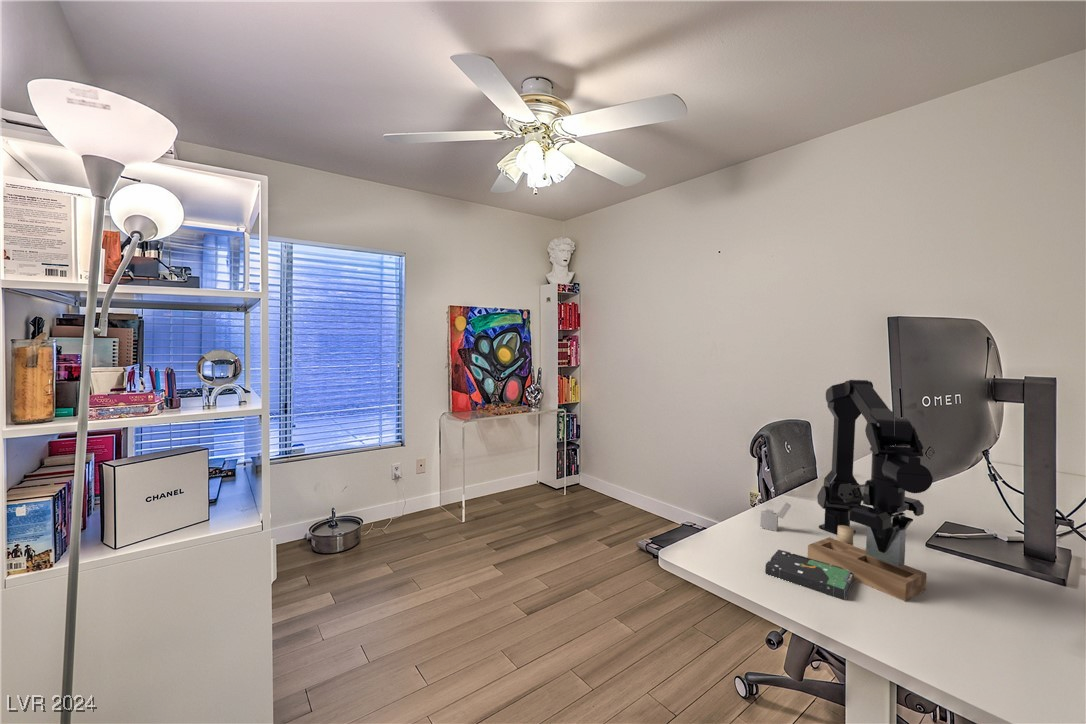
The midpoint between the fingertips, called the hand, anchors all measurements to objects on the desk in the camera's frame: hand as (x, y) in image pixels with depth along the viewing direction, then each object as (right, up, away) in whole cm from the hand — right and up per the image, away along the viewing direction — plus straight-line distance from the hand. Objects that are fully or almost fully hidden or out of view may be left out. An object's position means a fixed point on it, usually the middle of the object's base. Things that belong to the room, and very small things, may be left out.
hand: (885, 550), depth 93 cm
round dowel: (+1, -6, +14) cm, 15 cm away
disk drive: (-15, -7, +2) cm, 17 cm away
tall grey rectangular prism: (0, -2, 0) cm, 2 cm away
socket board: (-2, -7, +4) cm, 8 cm away
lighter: (-9, -6, +26) cm, 29 cm away
